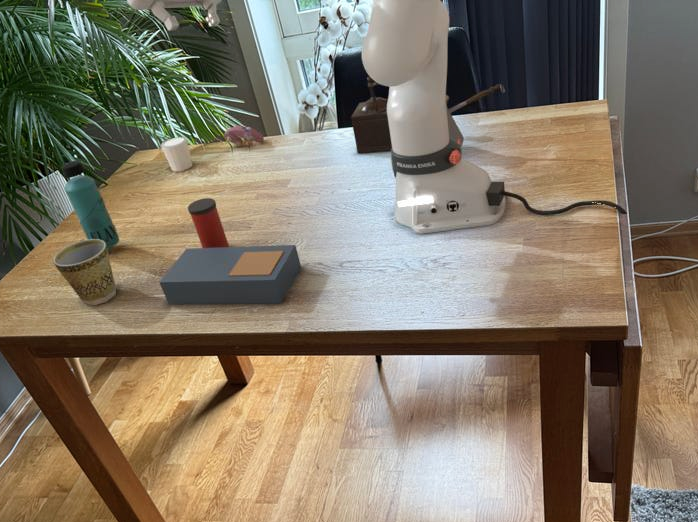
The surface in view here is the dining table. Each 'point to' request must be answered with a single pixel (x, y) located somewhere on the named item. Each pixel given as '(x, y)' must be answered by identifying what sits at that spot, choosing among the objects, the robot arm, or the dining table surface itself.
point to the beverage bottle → (89, 205)
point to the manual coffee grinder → (372, 124)
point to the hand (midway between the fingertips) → (195, 26)
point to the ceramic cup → (87, 270)
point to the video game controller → (243, 135)
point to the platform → (232, 275)
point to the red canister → (208, 223)
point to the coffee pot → (452, 126)
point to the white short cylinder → (177, 153)
